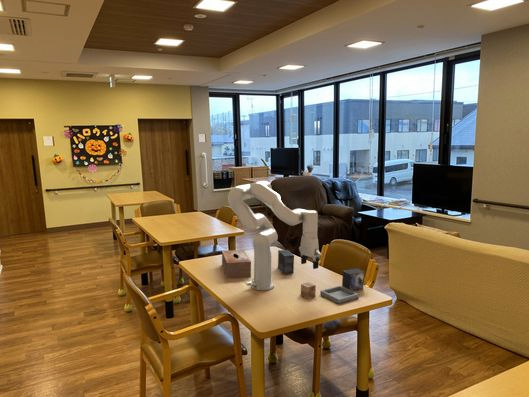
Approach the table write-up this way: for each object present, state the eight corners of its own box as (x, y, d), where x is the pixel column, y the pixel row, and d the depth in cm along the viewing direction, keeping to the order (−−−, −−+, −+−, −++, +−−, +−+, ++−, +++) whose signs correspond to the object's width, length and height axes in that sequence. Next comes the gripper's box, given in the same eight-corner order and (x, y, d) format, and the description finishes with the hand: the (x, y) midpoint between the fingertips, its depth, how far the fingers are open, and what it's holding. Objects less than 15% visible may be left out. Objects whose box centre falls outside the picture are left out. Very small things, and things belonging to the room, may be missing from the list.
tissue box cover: (250, 277, 230) (251, 261, 229) (226, 279, 227) (226, 262, 226) (243, 264, 255) (243, 249, 254) (222, 265, 252) (222, 250, 251)
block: (307, 298, 200) (307, 287, 199) (300, 294, 205) (301, 284, 204) (315, 296, 203) (315, 285, 202) (308, 292, 208) (309, 282, 207)
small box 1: (294, 274, 237) (294, 255, 235) (283, 274, 236) (283, 255, 234) (287, 267, 250) (288, 249, 248) (277, 268, 248) (277, 250, 246)
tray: (338, 304, 193) (339, 299, 193) (320, 294, 205) (320, 290, 205) (358, 298, 201) (358, 293, 200) (339, 289, 212) (339, 285, 212)
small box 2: (348, 292, 208) (349, 274, 207) (341, 288, 214) (342, 270, 213) (363, 289, 213) (364, 271, 212) (356, 285, 219) (356, 267, 217)
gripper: (294, 231, 204) (293, 263, 207) (315, 238, 190) (314, 271, 192) (305, 230, 208) (304, 260, 211) (326, 236, 194) (326, 269, 196)
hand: (309, 266), depth 202 cm, fingers open, 9 cm apart
